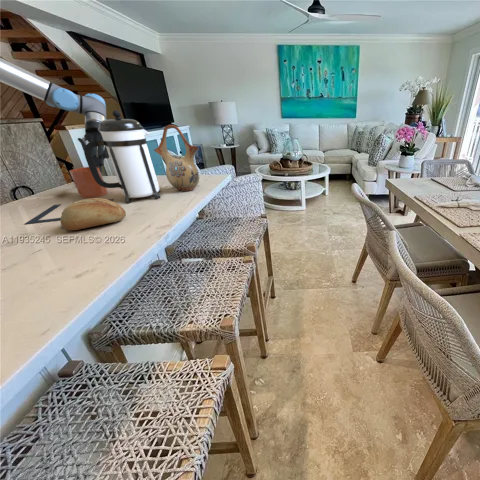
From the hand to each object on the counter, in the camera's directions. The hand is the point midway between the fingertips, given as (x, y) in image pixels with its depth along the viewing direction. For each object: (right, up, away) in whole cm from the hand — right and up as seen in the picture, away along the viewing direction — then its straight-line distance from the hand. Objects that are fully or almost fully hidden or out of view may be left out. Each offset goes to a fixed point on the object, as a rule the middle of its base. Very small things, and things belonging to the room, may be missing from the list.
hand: (98, 171), depth 111 cm
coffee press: (+25, -13, -10) cm, 30 cm away
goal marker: (+10, -18, -21) cm, 30 cm away
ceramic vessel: (+38, -8, -1) cm, 39 cm away
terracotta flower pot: (+4, -11, -6) cm, 13 cm away
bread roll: (+28, -25, -33) cm, 50 cm away
